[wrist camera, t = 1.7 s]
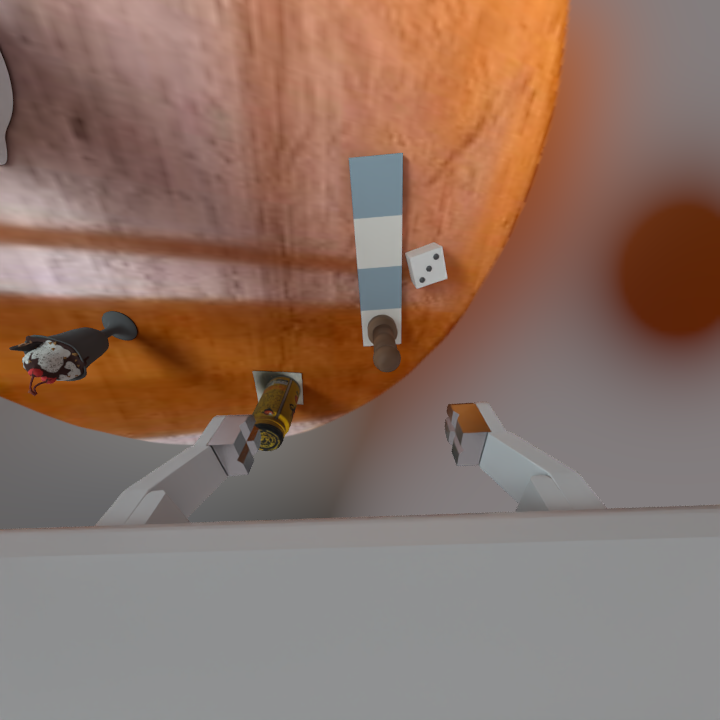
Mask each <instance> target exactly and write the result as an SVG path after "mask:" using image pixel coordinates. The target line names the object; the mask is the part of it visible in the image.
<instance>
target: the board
mask: <svg viewBox="0 0 720 720" xmlns="http://www.w3.org/2000/svg"><path fill="white" fill-rule="evenodd" d="M349 166H350V179H351V191H352V204H353V217H354V230H355V242H356V255H357V268H358V281H359V294H360V306H361V319H362V332H363V345H364V346H374V345H373V344H372V343H371V342H370V340H369V338H368V330H367V327H368V323H369V321H370V320H371V319H372V318H373V317H375V316H377V315H388V316H390V317H391V318H392V319H393V320H394V321H395V324H396V327H397V331H398V334H397V338H396V340H395V343H396V344H401V296H402V185H403V153H397V154H386V155H376V156H366V157H355V158H349Z"/></svg>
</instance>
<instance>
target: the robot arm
mask: <svg viewBox="0 0 720 720" xmlns="http://www.w3.org/2000/svg"><path fill="white" fill-rule="evenodd" d="M12 110H13V94H12V87H11V82H10V78H9V74H8V71H7V68H6V65H5V62H4V59H3V57H2V54H1V52H0V165H3V164H5V163H6V161H7V148H6V141H5V133H6V129H7V127H8V124H9V122H10V119H11V116H12ZM447 414H448V416H449V417H448V418H447V419H446V420H445V433H446V437H447V440H448V442H449V443H450V444H451V445H452V454H453V456H454V459H455V462H456V465H457V466H473V465H474V466H475V465H479V466H480V468H481V469H482V470H483V471H484V472H485V473H487V474H488V475H489V476H490V477H491V478H492V479H493V480H494V481H495V482H496V483H497V484H498V485H499V486H500V487H501V488H502V489H504V490H505V491H506V492H507V493H508V494H509V495H510V496H511V497H512V498H513V499H514V500H515V501H516V502H517V503H519V505H518V507H517V509H516V511H515V512H495V513H468V514H467V513H466V514H437V515H409V516H379V517H352V518H351V517H350V518H324V519H294V520H293V519H291V520H263V521H262V520H261V521H232V522H202V523H190V521H189V520H188V519H187V518H188V517H189V516H190V514H192V513H193V512H194V511H195V510H196V509H197V507H198V506H200V504H201V503H202V502H204V500H205V499H206V498H207V497H208V496H209V495H210V494H211V493H212V492H213V491H214V490H215V489H216V488H217V487H218V486H219V485H220V484H221V483H222V482H223V481H224V480H225V479H226V478H227V476H235V475H248V474H249V472H250V469H251V467H252V464H253V462H254V458H253V455H254V454H255V453H256V452H258V450H259V447H260V444H261V433H260V430H259V428H257V427H256V426H254V424H255V422H256V420H255V418H254V416H253V415H228V416H216V417H214V418H213V419H212V420H211V422H210V423H209V425H208V426H207V427H206V429H205V430H204V432H203V433H202V435H201V436H200V438H199V439H198V440H197V442H196V443H195V445H194V446H193V447H188V448H187V449H186V450H184V451H183V452H181V453H179V454H178V455H176V456H175V457H174V458H172V459H171V460H169V461H168V462H166V463H165V464H163V465H162V466H160V467H159V468H157V469H156V470H154V471H153V472H151V473H150V474H148V475H147V476H145V477H144V478H142V479H141V480H139V481H138V482H136V483H135V484H133V485H132V486H130V487H129V488H127V489H126V490H124V491H123V493H122V494H121V495H120V496H119V497H118V499H117V500H116V501H115V502H114V503H113V505H112V506H111V507H110V509H109V510H108V511H107V512H106V513H105V514H104V515H103V517H102V518H101V519H100V520H99V522H98V523H97V524H96V525H95V526H88V527H87V526H85V527H57V528H26V529H0V720H720V505H698V506H670V507H642V508H641V507H640V508H611V509H607V508H606V506H605V505H604V504H603V503H602V501H601V500H600V499H599V498H598V497H597V495H596V494H595V493H594V491H593V490H592V489H591V488H590V486H589V485H588V484H587V483H586V481H585V480H584V479H583V478H582V477H581V475H580V474H579V473H578V472H576V471H575V470H573V469H572V468H570V467H568V466H567V465H565V464H563V463H562V462H560V461H558V460H557V459H555V458H553V457H552V456H550V455H549V454H547V453H545V452H544V451H542V450H540V449H539V448H537V447H535V446H534V445H532V444H530V443H529V442H527V441H525V440H524V439H522V438H520V437H519V436H517V435H516V434H514V433H512V432H507V431H506V429H505V428H504V426H503V425H502V423H501V422H500V420H499V419H498V417H497V415H496V414H495V412H494V411H493V409H492V408H491V406H490V405H489V403H487V402H474V403H462V404H449V405H448V407H447Z"/></svg>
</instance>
